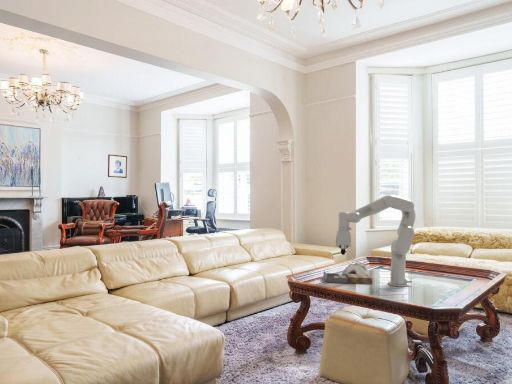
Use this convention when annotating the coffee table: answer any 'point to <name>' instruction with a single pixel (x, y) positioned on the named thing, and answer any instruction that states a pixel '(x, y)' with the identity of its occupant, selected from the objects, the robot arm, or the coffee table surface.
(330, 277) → the box
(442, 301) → the coffee table surface
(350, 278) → the plate
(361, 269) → the mask
